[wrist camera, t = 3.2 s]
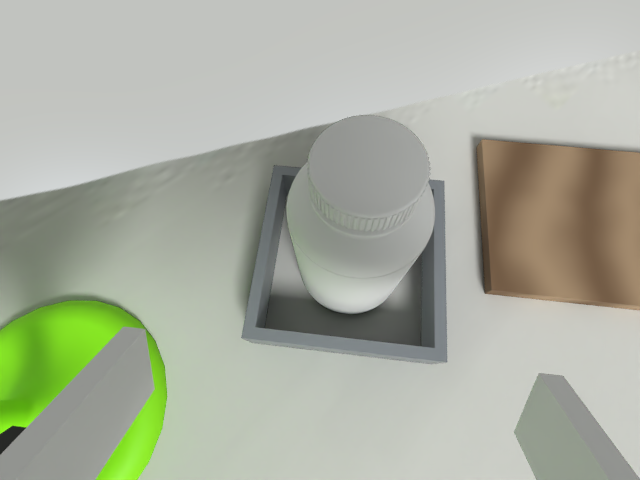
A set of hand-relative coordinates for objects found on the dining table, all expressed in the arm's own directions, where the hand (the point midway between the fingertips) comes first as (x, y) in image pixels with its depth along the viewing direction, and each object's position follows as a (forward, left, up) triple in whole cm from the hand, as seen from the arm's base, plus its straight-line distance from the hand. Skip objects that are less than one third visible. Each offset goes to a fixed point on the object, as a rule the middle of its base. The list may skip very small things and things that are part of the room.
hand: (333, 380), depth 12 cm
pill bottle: (-1, -9, -15) cm, 17 cm away
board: (-21, -15, -15) cm, 29 cm away
